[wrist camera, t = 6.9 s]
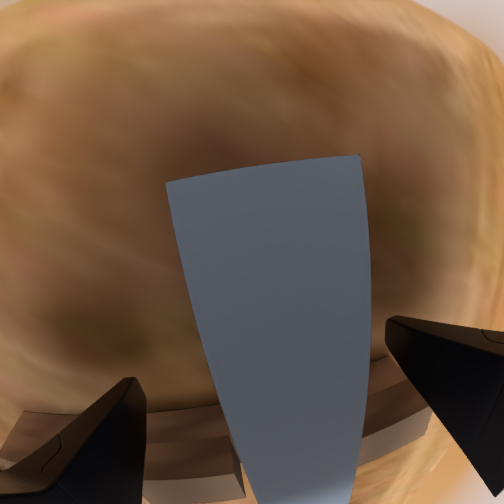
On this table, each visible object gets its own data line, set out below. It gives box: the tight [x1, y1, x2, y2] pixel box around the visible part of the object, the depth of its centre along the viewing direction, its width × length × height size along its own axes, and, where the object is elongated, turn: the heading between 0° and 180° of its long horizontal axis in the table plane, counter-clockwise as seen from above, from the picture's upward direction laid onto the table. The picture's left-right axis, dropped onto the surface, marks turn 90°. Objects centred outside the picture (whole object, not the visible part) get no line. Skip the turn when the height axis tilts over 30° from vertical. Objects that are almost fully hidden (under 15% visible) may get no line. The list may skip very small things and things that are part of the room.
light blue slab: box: [165, 154, 371, 504], centre depth 8 cm, size 14×2×6 cm, turn 9°
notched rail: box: [0, 356, 433, 504], centre depth 10 cm, size 20×2×4 cm, turn 100°
